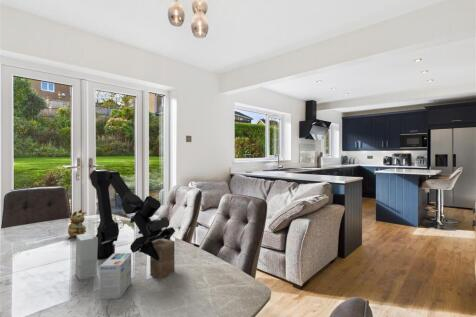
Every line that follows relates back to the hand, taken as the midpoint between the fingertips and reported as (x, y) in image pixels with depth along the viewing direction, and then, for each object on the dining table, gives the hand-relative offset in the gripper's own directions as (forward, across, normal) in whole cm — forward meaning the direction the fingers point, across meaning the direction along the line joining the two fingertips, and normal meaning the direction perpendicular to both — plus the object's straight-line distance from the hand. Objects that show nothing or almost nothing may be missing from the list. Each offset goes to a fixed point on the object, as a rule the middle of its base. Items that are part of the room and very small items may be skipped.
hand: (165, 256), depth 98 cm
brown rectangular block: (+4, 0, +6) cm, 7 cm away
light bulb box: (+1, -17, +9) cm, 19 cm away
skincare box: (-14, -15, +23) cm, 31 cm away
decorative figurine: (-52, +11, +62) cm, 82 cm away
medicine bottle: (-17, +26, +27) cm, 41 cm away
